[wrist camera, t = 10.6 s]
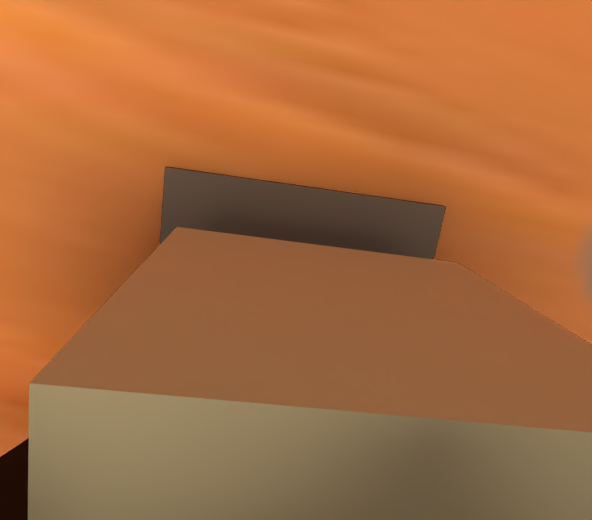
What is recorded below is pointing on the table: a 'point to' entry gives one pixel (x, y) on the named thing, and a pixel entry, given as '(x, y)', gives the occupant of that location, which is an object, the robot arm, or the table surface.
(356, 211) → the thin dark grey panel
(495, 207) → the table surface
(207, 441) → the beige cuboid
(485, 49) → the table surface
